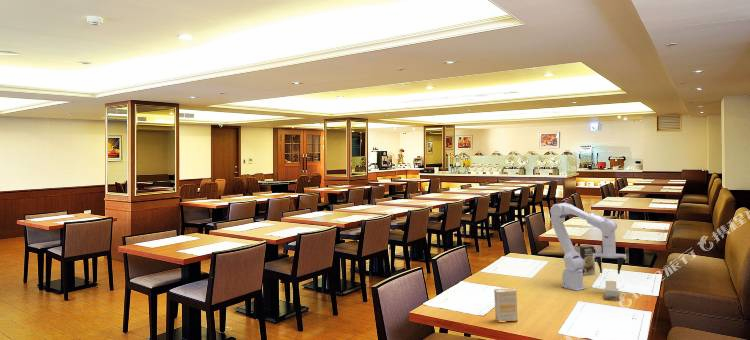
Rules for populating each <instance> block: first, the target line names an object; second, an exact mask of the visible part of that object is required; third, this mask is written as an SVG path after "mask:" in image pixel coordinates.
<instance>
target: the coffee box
mask: <svg viewBox="0 0 750 340" xmlns="http://www.w3.org/2000/svg"><path fill="white" fill-rule="evenodd" d="M573 247H574V249H575V251H576V252H578V253H579V255H580V256H581V258H583V260H584V262H585V265H584V267H583V268H582V270H583V275H585V276H590V275H589V274H595V275H596V268H595V267H596V258H593V253H595V246H593V245H589V244H586V245H585V244H584V245H573Z"/></svg>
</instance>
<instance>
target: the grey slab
mask: <svg viewBox="0 0 750 340" xmlns="http://www.w3.org/2000/svg"><path fill="white" fill-rule="evenodd" d="M616 288H617V287H616ZM604 289H605V290H604V291H605V292H604V293H605V294H606V296H615V297H619V298H620V291H619V288H617V291H608V290H606V287H605V288H604Z"/></svg>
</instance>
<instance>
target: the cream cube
mask: <svg viewBox="0 0 750 340" xmlns="http://www.w3.org/2000/svg"><path fill="white" fill-rule="evenodd" d="M605 288H606V290H608V291H617V279H616V278H605Z"/></svg>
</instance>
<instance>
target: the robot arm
mask: <svg viewBox="0 0 750 340" xmlns="http://www.w3.org/2000/svg"><path fill="white" fill-rule="evenodd" d="M549 213H550V222H551V225H552V228H553V230H554V233H555V234H556V235H555V236H557V240H558V241H559V245H560V246H561V249H562V251H563V254H564V256H563V261H564V266H565V269H564V270H563V272H562V275H561V276H562V278H561V279H562V280H561V281H562V286H561V288H563V287H564V288H565V289H568V290H572V291H582V290H586V289H587V288H588V287H587V286H584V276H583V270H582V268H583V267H584V265H585V262H584V260H583V258H581V256H580V255H579V253H578V252H576V251H575V249H574V244H573V243H572V240H571V238H570V236H569V233H568V232H567V229H566V226H565V225H564V220H565V219H566V217H568V215H574V216H576V217H578V218H581V219H583V220H585V221H586V223H587V224H589V225H591V226H593V227H595V228H597V229H599V230H600V231H601V233H602V234H601V235H602V237H601V238H602V243H601V244H602V252H594V253H593V258H595V262H596V263H597V265H598V268H599V273H600V274H603V269H602V259H617V274H618V275H620V273H621V269H622V266H623V263H624V262H625V260H627V254H625V253H617V252H616V251H617V250H616V249H617V248H616V245H617V244H616V230H617V228H618V223H617V222H616V221H615V220H613V219H608V217H604V216H601V215H599V214H598V213H597V212H592V213H588V212H586V211H585V210H582V209H580V208H578V207H577V206H574V205H573V204H571V203H567V202H561V203H555V204H553V205H552V206H551V207H550V209H549Z"/></svg>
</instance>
